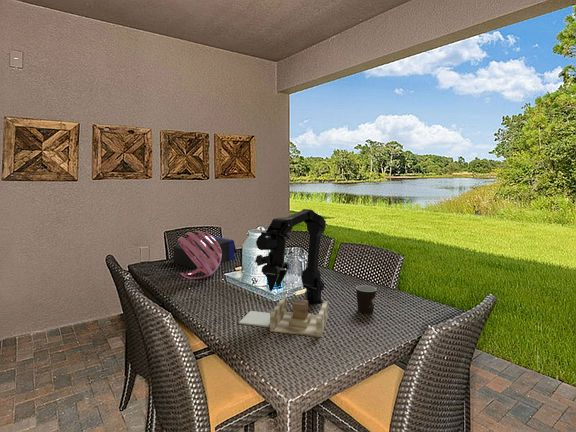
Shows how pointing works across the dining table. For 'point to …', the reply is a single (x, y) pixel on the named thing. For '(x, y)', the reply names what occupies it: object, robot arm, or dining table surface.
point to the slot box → (297, 321)
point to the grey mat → (256, 319)
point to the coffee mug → (365, 298)
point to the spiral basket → (201, 253)
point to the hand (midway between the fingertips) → (274, 288)
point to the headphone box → (226, 248)
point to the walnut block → (300, 309)
